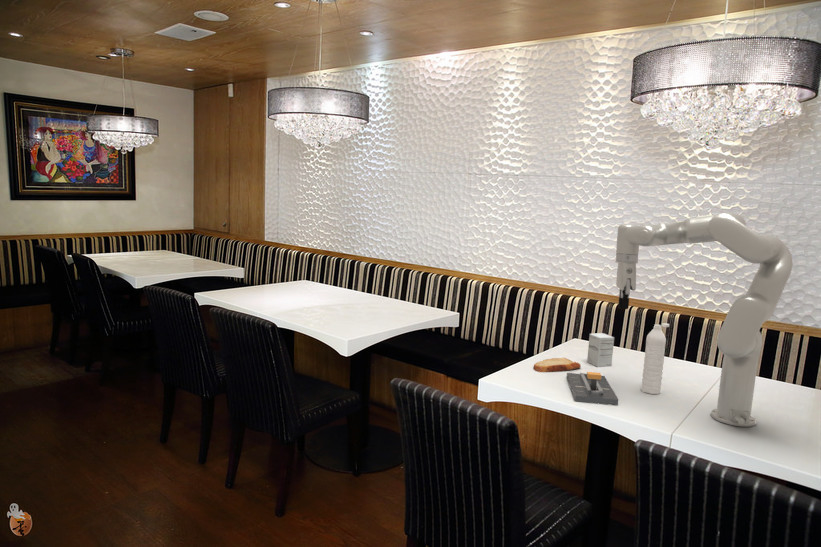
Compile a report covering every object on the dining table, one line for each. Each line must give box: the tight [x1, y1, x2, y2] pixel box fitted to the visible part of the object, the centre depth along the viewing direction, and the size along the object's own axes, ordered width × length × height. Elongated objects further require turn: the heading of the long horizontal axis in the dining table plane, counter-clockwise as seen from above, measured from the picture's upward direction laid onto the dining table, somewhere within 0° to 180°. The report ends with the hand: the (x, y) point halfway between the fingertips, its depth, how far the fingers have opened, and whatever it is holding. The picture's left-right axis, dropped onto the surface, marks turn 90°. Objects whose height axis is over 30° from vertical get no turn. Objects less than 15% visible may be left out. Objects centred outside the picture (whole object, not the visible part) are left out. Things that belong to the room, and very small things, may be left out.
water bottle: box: [640, 322, 670, 395], centre depth 205 cm, size 9×6×25 cm
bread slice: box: [533, 357, 581, 373], centre depth 230 cm, size 18×18×4 cm
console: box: [566, 372, 619, 406], centre depth 204 cm, size 26×14×3 cm, turn 171°
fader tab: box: [586, 371, 602, 390], centre depth 199 cm, size 3×4×6 cm, turn 81°
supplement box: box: [586, 332, 615, 368], centre depth 237 cm, size 7×7×13 cm
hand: (623, 308), depth 206 cm, fingers closed
